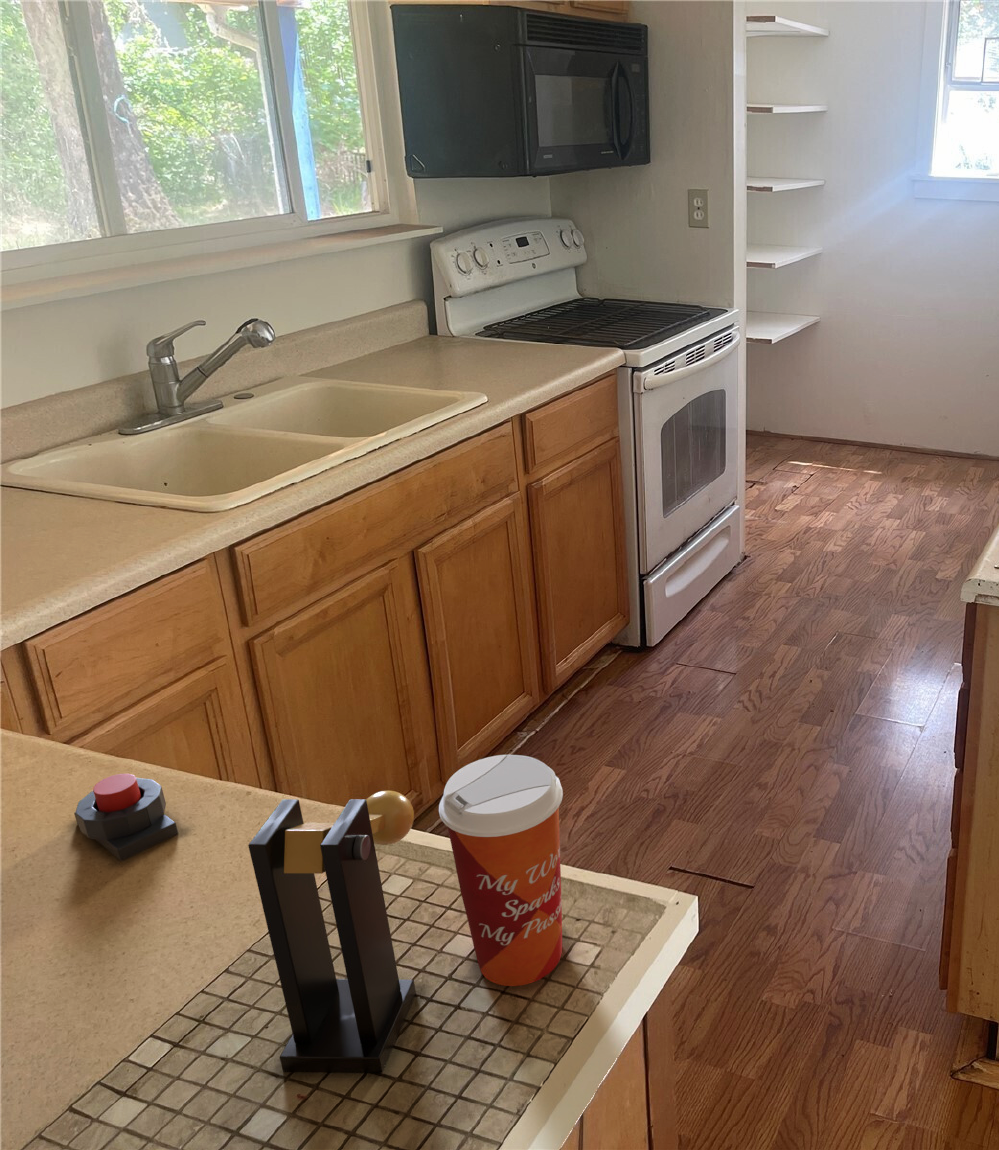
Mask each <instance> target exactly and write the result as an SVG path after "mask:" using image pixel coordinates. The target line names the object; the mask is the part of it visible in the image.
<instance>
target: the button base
mask: <svg viewBox="0 0 999 1150" xmlns="http://www.w3.org/2000/svg"><path fill="white" fill-rule="evenodd" d="M136 780H137V783H138V787H139V790H140V794H141V799H140V800H139V801H138V802H137V803H136V804H134V805H132V806H130V807H128V808H125V809H122V810H117V811H113V812H101V811H100V810H99V809H98V806H97V802H96V799H95V796H94V792H93V790H91V791H90V792H89V793H88V794H87V795H85V796H84V797H83V798H81V799H80V800H79V801H78V803H77V806H76V809H75V811H74V813H73V815H74V818H75V821H76V824H77V826H78V827H79V830H80V832H81V833H82V834H83V835H84V836H86V838H88V839H89V840H95V841H96V842H98V843H99V844H100V845H101V846H102V847H104V848H105V849H106V850H107V851H108V852H109V853H110V854H112V855H113V856H114V857H115V858H116V859H118V860H119V861H120V862H123V861H125V860H127V859H129V858H132V857H133V856H136V855H138V854H140V853H142V852H144V851H146V850H148V849H150V848H152V847H155V846H157V845H159V844H161V843H163V842H165V841H167V840H169V839H171V838H173V837H175V836H177V835H179V831H178V826H177V823H176V822H175V821H174V820H172V819H171V818H170V817H169V816H167V815H166V814H165V812H166V806H167V802H166V799H165V795H164V790H163V787H162V785H161V784H160V783H158V782H156V781H155V780H154V779H152V778H143V777H141V778H140V777H136Z"/></svg>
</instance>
